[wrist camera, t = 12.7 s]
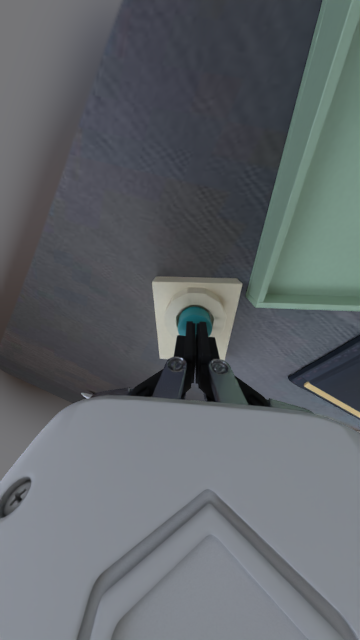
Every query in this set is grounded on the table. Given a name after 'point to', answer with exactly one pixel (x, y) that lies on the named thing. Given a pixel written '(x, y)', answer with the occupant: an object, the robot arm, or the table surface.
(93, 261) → the table surface
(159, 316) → the control block
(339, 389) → the wallet
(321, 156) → the tray
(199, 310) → the button
